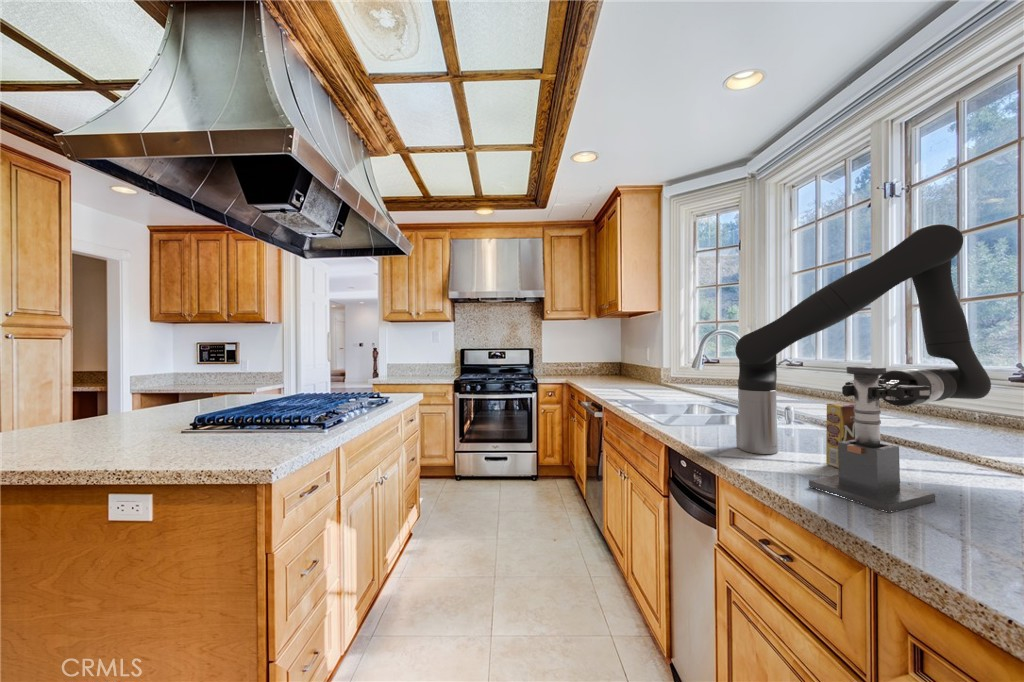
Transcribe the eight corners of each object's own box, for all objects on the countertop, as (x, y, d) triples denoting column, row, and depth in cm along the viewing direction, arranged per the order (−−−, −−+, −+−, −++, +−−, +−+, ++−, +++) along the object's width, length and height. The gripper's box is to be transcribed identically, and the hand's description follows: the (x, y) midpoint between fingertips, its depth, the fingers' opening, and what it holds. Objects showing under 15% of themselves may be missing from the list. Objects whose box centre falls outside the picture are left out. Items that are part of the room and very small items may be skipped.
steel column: (842, 470, 84) (839, 367, 84) (861, 466, 86) (858, 366, 86) (876, 479, 78) (873, 368, 78) (895, 475, 80) (893, 367, 80)
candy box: (842, 470, 97) (840, 405, 97) (825, 464, 101) (824, 403, 101) (874, 467, 98) (872, 404, 98) (857, 462, 102) (855, 401, 102)
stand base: (809, 487, 86) (807, 440, 86) (852, 478, 91) (851, 433, 91) (889, 513, 73) (887, 457, 73) (935, 501, 77) (934, 448, 77)
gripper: (870, 367, 93) (819, 371, 87) (955, 371, 80) (900, 375, 74) (871, 400, 93) (820, 405, 87) (955, 409, 80) (901, 417, 74)
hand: (857, 392), depth 81 cm, fingers closed on steel column, 3 cm apart
